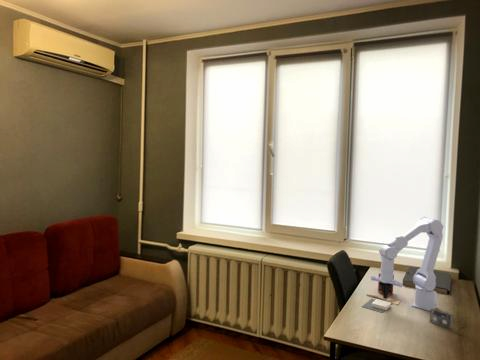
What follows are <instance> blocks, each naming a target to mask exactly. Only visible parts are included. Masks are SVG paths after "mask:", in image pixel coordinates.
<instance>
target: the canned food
mask: <svg viewBox="0 0 480 360" xmlns="http://www.w3.org/2000/svg"><path fill="white" fill-rule="evenodd" d="M380 275H381V270H380V271H378V277H380ZM393 280H395V273H394V272H393ZM379 284H380V282H378V281H377V292H378V293H379V294H380V295H382V296H383V293H382V290H381V287H380V285H379ZM393 292H394V285H393V286H392V288H391V289H390V291H389V294H388V296H391V295H393Z"/></svg>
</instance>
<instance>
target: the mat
mask: <svg viewBox="0 0 480 360" xmlns="http://www.w3.org/2000/svg"><path fill="white" fill-rule="evenodd" d="M376 299H377V298H371V299H369V300H368V301H367V302H365V303H364V304H362V305H361V308H364V309H368V310H371V311H374V312H378V313H381V314H383V313H384V312H385V311H386V310H383V309H379V308H376V307H372V303H373V302H374V301H375V300H376Z"/></svg>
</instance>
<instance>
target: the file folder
mask: <svg viewBox="0 0 480 360" xmlns="http://www.w3.org/2000/svg"><path fill="white" fill-rule="evenodd" d="M420 268H421V267H414V266H408V268H407V270H406V272H405V274H404V276H403V278H402V282H403V286H402V287H408V288H412V287H413V288H412V289H416V286H415V283H414V282H413V277H414V275H415V274H416V272H417V270H418V269H420ZM433 272H434V274H435V276H436V280H435V282H436V286H435V288H434V289H433V291H435V292H437V293H438V294H439V293H440V294H445V295H449V294H450V293H451V292H450V291H451V283H452V282H451V281H452V275H451V273H449V272H444V271H438V270H434V271H433Z"/></svg>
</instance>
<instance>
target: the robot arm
mask: <svg viewBox="0 0 480 360" xmlns="http://www.w3.org/2000/svg"><path fill="white" fill-rule="evenodd" d="M415 223H416V224H414V225H413V226H412V227H411V228H409V230H408V231H406V232H405V233H404V234H403V235H396V236H395V237H394V239H393V240H391V241H390V242H388V243H387V245H385V244H384V245H382V246H381V247H380V250H378V253H379V254H380V259H381V261H380V271H381V275H380V277H379V275H371V276H370V281H374V282H377V283H378V282H380V284H379V285H380V287H381V290H382V293H383V295H382V296H383V298H385V299H388V298H389V295H388V294H389V291H390V289H391V288H392V286H393V287H394V286H395V287H399V288H403V287H404V286H403V281H400V280H396V279H394V280H393V273H394V267H395V259H396V258H397V257H398V255H399V252H401V250H403V249H404V248H406V247H407V246H408V242H409V241H411V240H413V239H414V238H415V237H417V236H418V235H419V234H421V233H424V234H425V233H426V235H427V236H428V241H427V242H428V243H427V246H426V249H425V253H424V256H423V260H422V263H421V266H420V267H419V268H420V269H418V270H417V272H416V274H415V275H414V277H413V282H414V283H415V286H416V288H415V293H414V302H413V303H412V305H411V306H412V307H415V308H418V309H421V310H425V311H429V312H430V309H434V310H436V308H437V301H438V300H437V299H438V297H437V296H438V292H435V291H433V289H434V288H435V286H436V282H435V280H436V276H435V274H434V272H433V271H435V266H436V263H437V259H438V256H439V252H440V249H441V247H442V246H441V245H442V241H443V237H444V235H443V234H444V233H443V229H444V225H443V223H442V222H441V221H440V220H439V219H434V218H431V217H427V216H422V217H421V218H420V219H418V220H417V221H416V222H415Z"/></svg>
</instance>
